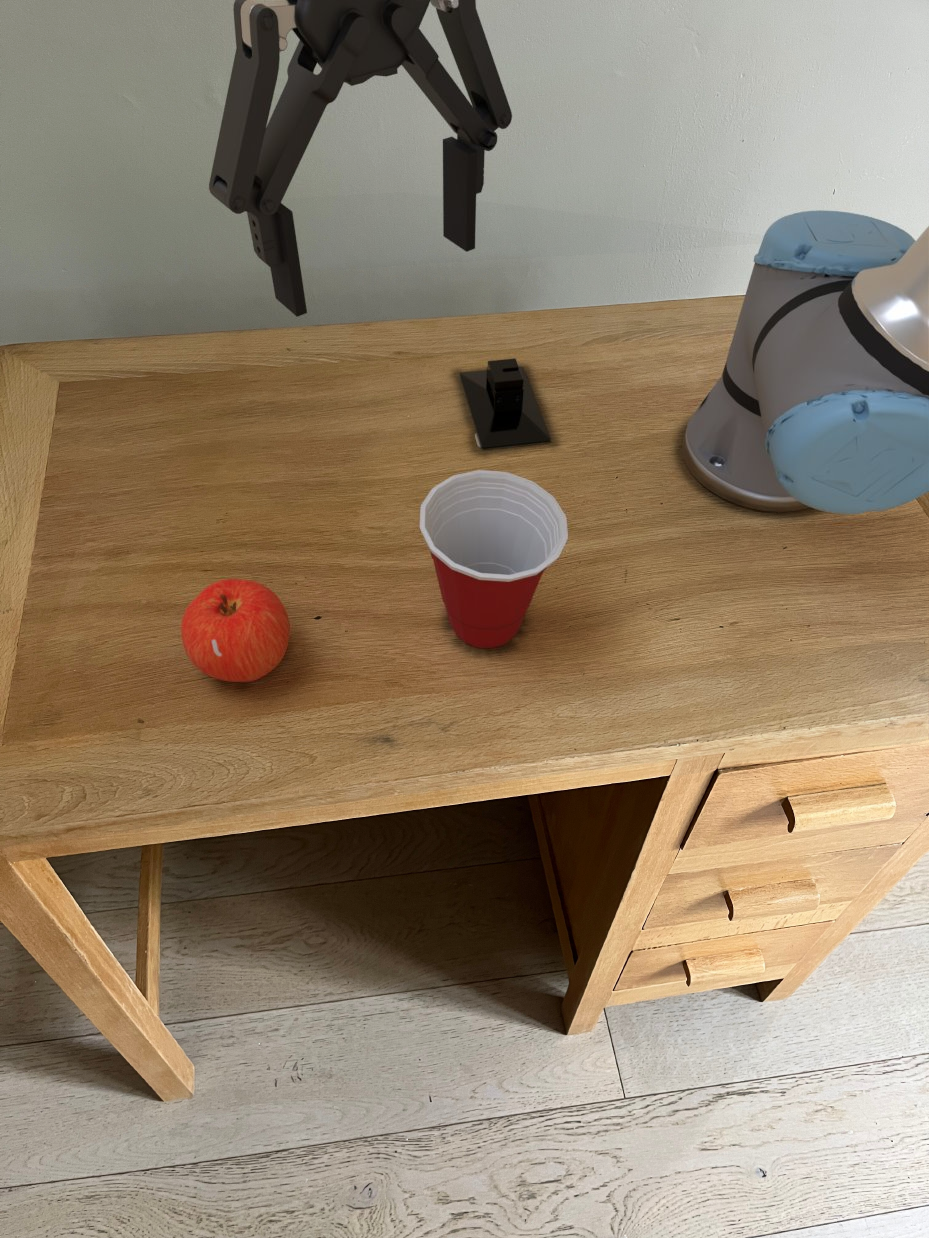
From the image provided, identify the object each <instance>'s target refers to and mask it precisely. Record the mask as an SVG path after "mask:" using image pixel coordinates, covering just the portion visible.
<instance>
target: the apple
mask: <svg viewBox="0 0 929 1238" xmlns="http://www.w3.org/2000/svg"><path fill="white" fill-rule="evenodd" d="M290 624H291V623H290V619H289V615H288V613H287V610H286V608H285V606H284V604H283V602H282V600H281V599H280V598H279V596H277V595H276V594H275V592H273V591H272V590H271V589H270V588H269V587H268V586H266V585H263V584H262V583H260V582H258V581H254V580H248V579H243V578H241V579H240V578H226V579H221V580H218V581H215V582H213V583H211V584H210V585H207V586H206V587H205V588H203V590H202V591H200V592H199V594H197V596H195V597H194V599H193V600H192V601H191V602H190V603H189V604H188V606H187V607H186V609H185V611H184V613H183V615H182V618H181V623H180V633H181V641H182V644H183V649H184V652H185V653H186V656H187V658H188V659H189V661H190V662H191V663H192V664H193V665H194V666H195V667H196V668H197V669H198V670H199V671H200V672H202V673H203V674H204V675H206V676H208V677H211V678H213V679H216V680H220V681H224V682H231V683H232V682H233V683H241V682H242V683H246V682H254V681H257V680H259V679H261V678H263V677H264V676H266V675H268V674H269V673H270V672H272V671H273V670H274V669H275V668H276V667H277V666H278V665H279V664H280V663H281V661H282V659H283V658H284V657H285V654H286V652H287V649H288V646H289V642H290V634H291V633H290V632H291V625H290Z"/></svg>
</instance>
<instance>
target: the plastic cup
mask: <svg viewBox="0 0 929 1238" xmlns="http://www.w3.org/2000/svg"><path fill="white" fill-rule="evenodd" d="M419 512H420V513H419V529H420V532H421V535H422V536H423V539H424V540H425V542H426V545H427V547H428V549H429V552H430V557H431V558H432V561H433V565H434V570H435V573H436V578H437V582H438V586H439V590H440V595H441V598H442V602H443V604H444V606H445V610H446V615H447V618H448V623H449V624H450V626H451V628H452V630H453V632H454V634H455V636H456V637H457V638H459V640H461V641H463V642H464V643H465V644H467V645H470V646H473V647H475V648H478V649H482V648H483V649H493V648H497V647H499V646H503V645H506V644H507V643H508V642H510V641H511V640H512V639H513V638H514V637H515V636H516V634H517V633H518V632H519V629H520V627H521V625H522V624H523V621H524V618H525V616H526V612H527V611H528V608H529V607H530V605H531V602H532V600H533V598H534V595H535V592H536V590H537V588H538V586H539V583H540V580H541V578H542V576H543V574H544V572H545V570H547V568H548V567H549V566H550V565H552V564H553V563H555V562H556V561H557V560H558V559H559V557H560V555H561V554H562V551H563V549H564V547H565V545H566V543H567V541H568V539H569V532H568V521H567V516H566V513H565V512H564V511H563V509H562V508H561V506H560V504H559V503H558V501H557V499H556V498H555V497H554V496H553V495H552V494H551V493H549V492H548V491H546V490H545V489H544V488H543V487H541V486H540V485H539V484H537V483H536V482H534V481H533V480H530V479H527V478H524V477H522V476H519V475H517V474H513V473H511V472H508V471H500V470H499V471H496V470H486V469H485V470H484V469H477V470H473V471H472V470H471V471H468V472H467V471H466V472H462V473H458V474H453V475H452V476H450V477H448V478H447V479H445V480H443V481H442V482H440V483H438V484H437V485H434V487H432V488H431V489H430V491H429V493H428V495H426V497H425V498H424V501H423V502H422V503H421V505H420V511H419Z"/></svg>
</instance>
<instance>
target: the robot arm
mask: <svg viewBox="0 0 929 1238" xmlns="http://www.w3.org/2000/svg"><path fill="white" fill-rule="evenodd" d="M430 4H431V6H432V7H434V8H435V11H436V14H437V17H438V20H439V23H440V25H441V28H442V30H443V33H444V36H445V39H446V41H447V43H448V46H449V49H450V51H451V54H452V57H453V59H454V62H455V64H456V67H457V70H458V72H459V75H460V78H461V80H462V83H463V85H464V88H465V90H466V93H467V96H468V97H466V95H465V93H463V91H462V89H460V87H459V86H458V84H457V83H456V82H455V80H454V79H453V78H452V76H451V75H450V74H449V72H448V71H447V69H446V68H445V67H444V65H443V64H442V62H441V61H440V59H439V58H440V56H439V54H438V52H437V51H436V50H435V48H434V47H433V45H432V44H431V43H430V42H429V40H428V38H427V37H426V36H425V34H424V32H423V31H422V30H421V29H420V26H421V25H422V22H423V19H424V17H425V15H426V13H427V10H428V7H429V5H430ZM232 9H233V10H232V11H233V21H234V35H235V36H234V37H235V44H236V45H235V46H236V47H235V54H234V58H233V63H232V68H231V72H230V78H229V82H228V87H227V93H226V98H225V103H224V109H223V112H222V118H221V123H220V129H219V132H218V138H217V142H216V148H215V152H214V157H213V163H212V168H211V173H210V178H209V183H208V190H209V193H210V194H211V196H213V198H215V199H216V200H217V201H219V202H220V203H221V204H222V205H224V206H225V207H226V208H227V209H229V210H230V211H231V212H232V213H234V214H236V215H241V214H243V213H245V212H246V214H247V220H248V225H249V229H250V235H251V236H250V237H251V241H252V247H253V251H254V253H255V254H256V256H257V258H258V259H260V260H261V261H262V262H263V263H264V264H265V265H266V266H268V267H269V269H270V274H271V280H272V285H273V291H274V297H275V299H276V300H277V301H278V302H279V303H280V304H281V305H283V306H284V307H285V308H286V309H287V310H288V311H290V313H292V314H293V315H294V316H295V317H296V318H298V317H301V316H304V315H306V314H308V310H307V303H306V297H305V296H306V295H305V289H304V281H303V276H302V275H303V274H302V268H301V261H300V254H299V248H298V241H297V234H296V226H295V220H294V213H293V212H294V211H292V210H291V209H290V208H288V207H287V206H286V205H285V204H283V203H282V201H283V200H284V197H285V195H286V193H287V191H288V188H289V186H290V184H291V183H292V180H293V178H294V176H295V173H296V171H297V170H298V168H299V165H300V163H301V161H302V159H303V156H304V155H305V153H306V150H307V149H308V147H309V144H310V142H311V140H312V139H313V138H312V137H313V136H314V134H315V131H316V130H317V127H318V125H319V123H320V121H321V119H322V116H323V114H324V112H325V110H326V108H327V106H328V105H330V104H331V103H334V102H335V101H336V100H337V98H338V96H339V94H340V91H341V90H342V87H343V85H344V84H348V85H349V86H351V87H353V86H356V85H357V86H358V85H360V84H361V85H362V84H364V83H365V82H367V81H368V80H370V79H371V78H373V77H386V78H387V77H391V76H393V75H397V74H399V73H398V69H399V68H400V67H402V68H403V69H404V70H405V71H406V72H407V74H408V75H409V76H410V78H411V79H412V80H413V81H414V83H415V84H416V86H417V87H418V88H419V90H421V92H422V93H423V94H424V95H425V97H426V98H427V99H428V101H429V102H430V103H431V104H432V106H433V107H434V108H435V109H436V111H437V112H438V113H439V115H440V116H441V117H442V118H443V120H444V121H445V122H446V123H447V125H448V126H449V128H451V130H452V131H453V133H455V134H456V137H454V136H449V137H446V138H443V139H442V216H443V217H442V219H443V220H442V226H443V227H442V228H443V232H442V233H443V238H445V239H446V240H448V241H449V242H451V243H453V244H454V245H456V246H457V247H458V248H460V249H461V250H463V251H465V252H467V253H468V252H470V251H474V250H475V249H476V229H477V228H476V222H477V195H478V194H481V193H482V191H483V187H484V184H485V155H486V154H485V152H490V151H492V150H493V149H495V147H496V145H497V143H498V134H497V132H496V130H498V129H501V130H506V129H507V128H508V127H509V126H510V125H511V123H512V119H513V113H512V109H511V106H510V103H509V101H508V97H507V95H506V92H505V89H504V86H503V83H502V80H501V78H500V77H501V76H500V74H499V71H498V69H497V65H496V61H495V59H494V57H493V54H492V51H491V48H490V45H489V42H488V39H487V37H486V33H485V31H484V27H483V25H482V24H483V23H482V22H481V18H480V16H479V13H478V10H477V1H476V0H267V1H258V0H235V1H234V3H233V8H232ZM290 31H293V33H294V35H296V37H297V38H298V43H297V45H296V47H295V50H294V52H293V54H292V56H291V59H290V61H289V63H288V65H287V69H286V73H287V81H286V83H285V85H284V87H283V90H282V92H281V94H280V96H279V98H278V100H277V103H276V105H275V107H274V110H273V111H272V114H271V116H270V113H271V108H272V103H273V99H274V94H275V90H276V86H277V81H278V77H279V71H280V58H281V57H280V55H281V54H280V53H282V52H283V51H284V52H285V51H286V50H287V48H288V41H287V37H288V34H289V33H290ZM317 64H318V66H319V67H320V69H321V70H320V72H319V73H317V74H316V73H314V72H315V69H316V66H317ZM269 116H270V118H269ZM268 120H269V121H268ZM753 262H754V264H753V267H752V271H751V274H750V278H749V281H748V285H747V288H746V291H745V295H744V298H743V302H742V305H741V309H740V312H739V316H738V318H737V322H736V325H735V329H734V333H733V336H732V339H731V343H730V346H729V350H728V353H727V356H726V360H725V364H724V367H723V371H722V373H721V376H720V377H719V378H718V380H717V382H716V383H714V384H713V386H712V387H711V389H709V391H708V392H707V393H706V395H705V396H704V398H703V399H702V400H701V402H700V403H699V405H698V406H697V408H696V410H695V411H694V412H693V413H692V414H691V416H690V418H689V420H688V422H687V425H686V427H685V428H686V429H685V432H684V435H683V439H682V445H681V451H682V457H683V461H684V462H685V465H686V467H687V468H688V470H689V472H690V473H691V474H692V476H693V477H694V478H695V479H696V480H697V482H699V483H700V484H701V485H702V486H703V487H705V488H706V489H707V490H708V491H710V492H711V493H713V494H715V496H718V497H720V498H722V499H724V500H726V501H729V502H730V503H732V504H735V505H739V506H742V507H744V508H748V509H753V510H757V511H763V512H775V513H785V512H786V513H787V512H795V511H796V512H797V511H801V510H807V509H809V508H812V509H815V510H818V511H822V512H826V513H830V514H831V513H832V514H839V515H840V514H841V515H860V514H863V513H868V512H883V511H887V510H890V509H894V508H897V507H900V506H903V505H906V504H908V503H911V502H912V501H914V500H917V499H919V498H920V497H922V496H924V495H926V494H927V493H929V225H928V226H927V227H926V228H925V229H924V230H923V232H922V233H921V234H920V235H919V237H918V238H917V239H915V238H914V237H913V236H912V235H911V234H909V232H907V231H905V230H904V229H903V228H900V227H899V226H897V225H894V224H892V223H890V222H888V221H885V220H882V219H879V218H875V217H872V216H868V215H864V214H858V213H854V212H847V211H839V210H823V209H822V210H805V211H800V212H799V211H798V212H795V213H791V214H788V215H785V216H782V217H780V218H778V219H777V220H775V221H774V222H773V223H771V224H770V226H769V227H768V228H767V230H766V231H765V233H764V235H763V237H762V240H761V244H760V246H759V249H758V252H757V253H756V254H755V255H754V257H753Z"/></svg>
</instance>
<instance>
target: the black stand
mask: <svg viewBox="0 0 929 1238" xmlns="http://www.w3.org/2000/svg"><path fill="white" fill-rule="evenodd" d="M458 375H459V376H458V377H459V380H460V383H461V386H462V390H463V394H464V397H465V399H466V403H467V406H468V410H469V413H470V416H471V420H472V423H473V426H474V429H475V434H474V439H475V442H476V445H477V447H478V448H480V449H481V450H482V451H488V450H497V449H506V448H514V447H515V448H517V447H524V446H533V445H542V444H543V445H544V444H549V443H551V436H550V433H549V430H548V428H547V425H546V422H545V420H544V417H543V415H542V413H541V410H540V407H539V405H538V402H537V399H536V397H535V394H534V392H533V388H532V386H531V383H530V380H529V379H528V375H527V373H526V371H525V368H524V366H519V363H518V360H517V359H516V358H506V359H495V360H488V361H487V366H486V369H483V370H482V369H481V370H472V371H463V372H459V374H458Z"/></svg>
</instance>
